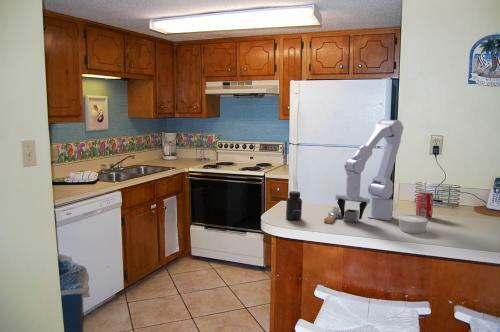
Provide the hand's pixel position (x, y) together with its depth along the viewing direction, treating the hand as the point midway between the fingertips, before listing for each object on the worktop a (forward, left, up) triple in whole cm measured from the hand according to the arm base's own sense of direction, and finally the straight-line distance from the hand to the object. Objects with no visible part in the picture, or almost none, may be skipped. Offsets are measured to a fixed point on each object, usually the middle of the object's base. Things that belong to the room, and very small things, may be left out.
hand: (351, 217), depth 181 cm
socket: (0, 0, -2) cm, 2 cm away
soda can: (-27, -24, -2) cm, 36 cm away
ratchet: (+8, +1, -2) cm, 8 cm away
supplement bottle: (+23, +10, -2) cm, 25 cm away
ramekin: (-25, +1, -2) cm, 25 cm away
